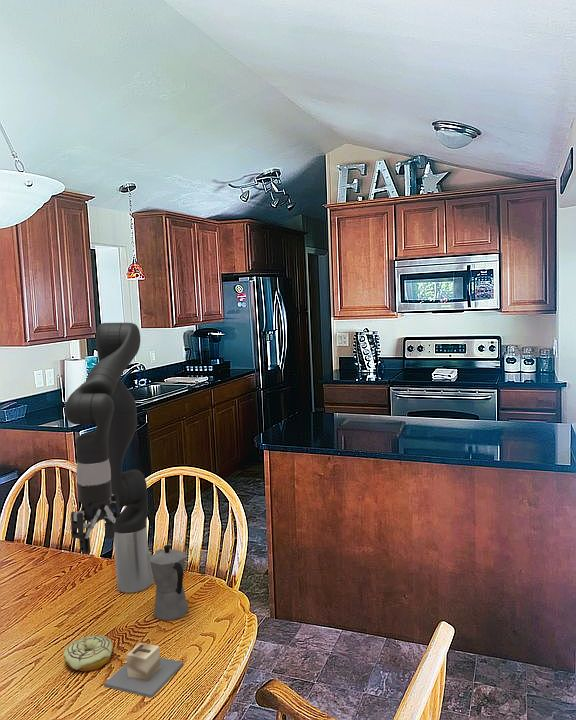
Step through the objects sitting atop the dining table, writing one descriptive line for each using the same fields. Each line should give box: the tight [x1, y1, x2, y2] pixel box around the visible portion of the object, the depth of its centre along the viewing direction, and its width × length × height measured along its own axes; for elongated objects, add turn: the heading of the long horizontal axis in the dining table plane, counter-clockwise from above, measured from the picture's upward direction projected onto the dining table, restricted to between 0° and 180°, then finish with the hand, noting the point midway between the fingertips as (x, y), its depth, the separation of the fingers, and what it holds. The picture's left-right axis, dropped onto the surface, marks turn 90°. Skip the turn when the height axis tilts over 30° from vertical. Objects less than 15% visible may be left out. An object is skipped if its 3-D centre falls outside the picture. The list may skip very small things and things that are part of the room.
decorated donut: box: [63, 634, 114, 672], centre depth 142 cm, size 10×11×4 cm
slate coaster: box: [103, 656, 184, 699], centre depth 135 cm, size 12×12×1 cm
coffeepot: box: [150, 544, 189, 622], centre depth 160 cm, size 15×9×18 cm, turn 33°
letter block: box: [126, 642, 161, 681], centre depth 135 cm, size 5×5×5 cm
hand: (98, 545), depth 146 cm, fingers open, 8 cm apart
